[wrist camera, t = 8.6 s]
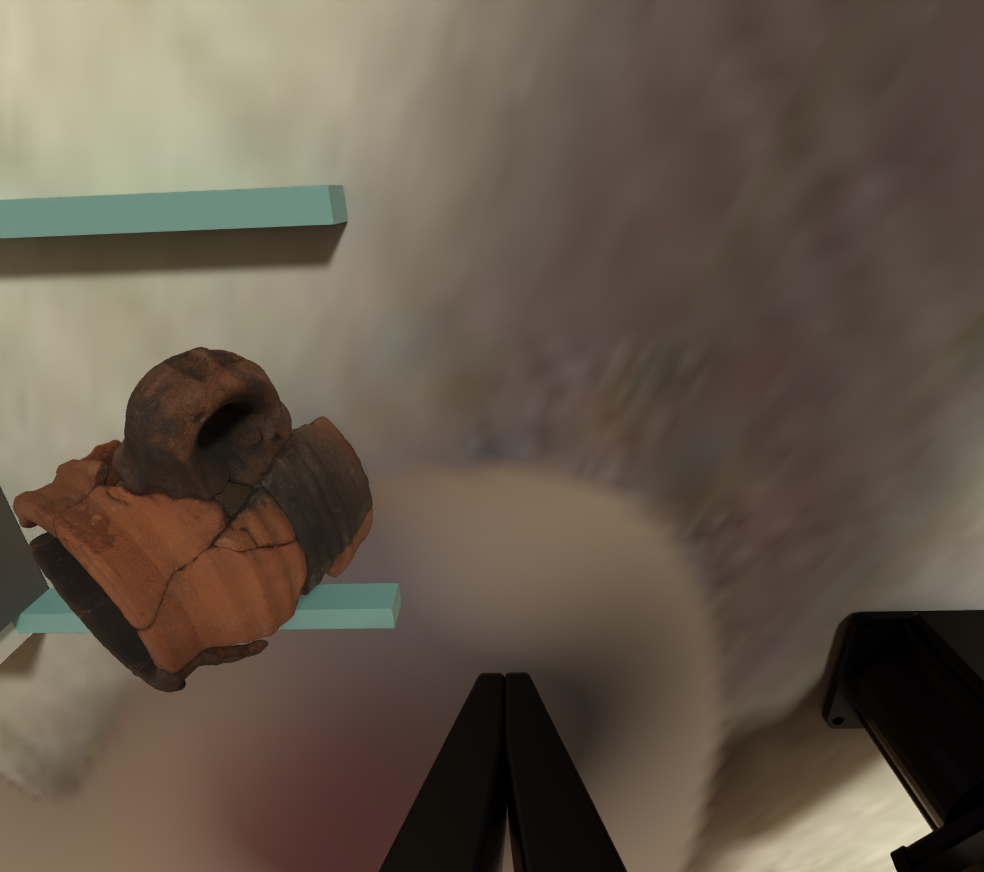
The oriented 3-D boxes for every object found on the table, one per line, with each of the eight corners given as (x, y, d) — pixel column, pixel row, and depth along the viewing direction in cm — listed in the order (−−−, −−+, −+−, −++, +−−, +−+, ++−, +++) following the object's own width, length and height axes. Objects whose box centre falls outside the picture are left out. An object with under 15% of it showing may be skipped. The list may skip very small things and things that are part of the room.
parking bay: (402, 610, 23) (383, 689, 20) (-38, 617, 24) (-135, 695, 20) (340, 166, 16) (291, 161, 12) (-283, 195, 17) (-500, 198, 13)
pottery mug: (381, 591, 23) (213, 762, 18) (230, 482, 26) (39, 598, 20) (414, 357, 16) (135, 520, 10) (196, 238, 19) (-125, 310, 13)
